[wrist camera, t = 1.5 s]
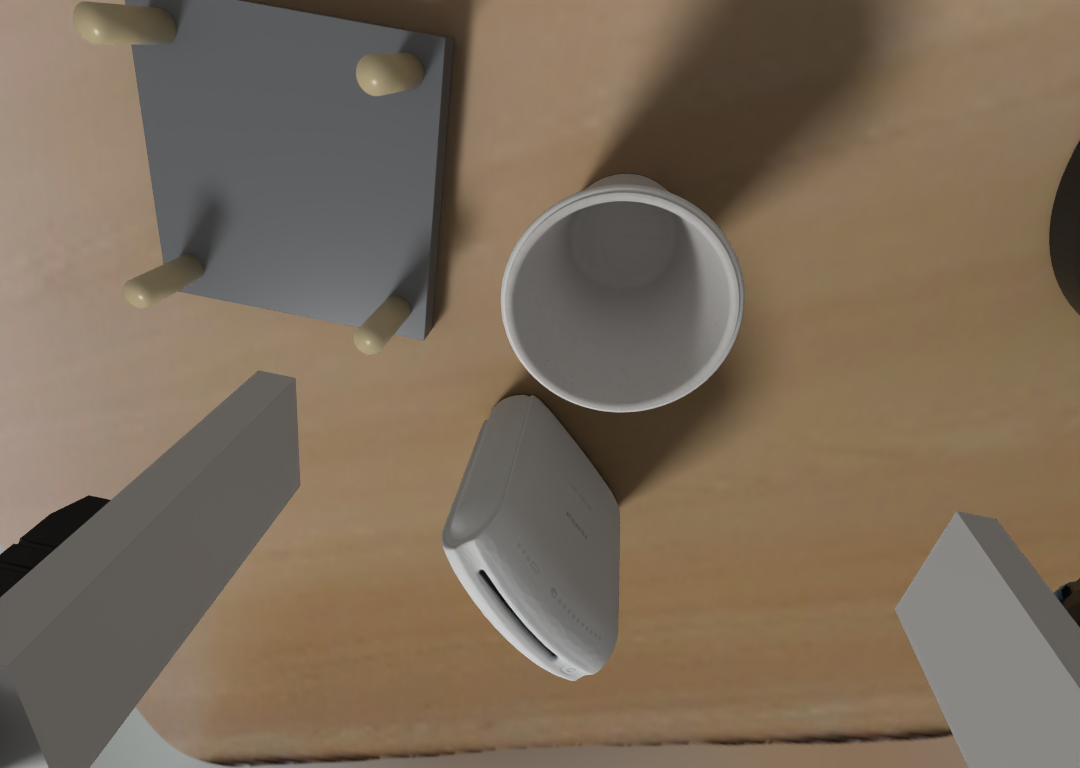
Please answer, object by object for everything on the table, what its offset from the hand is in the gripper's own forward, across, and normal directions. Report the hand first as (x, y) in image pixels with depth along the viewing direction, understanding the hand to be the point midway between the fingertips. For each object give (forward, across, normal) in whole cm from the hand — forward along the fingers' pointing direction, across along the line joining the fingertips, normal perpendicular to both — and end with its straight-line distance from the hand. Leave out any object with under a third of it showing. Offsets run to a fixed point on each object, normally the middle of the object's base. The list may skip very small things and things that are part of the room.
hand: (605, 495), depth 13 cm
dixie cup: (+20, 0, 0) cm, 20 cm away
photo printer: (+20, +1, +14) cm, 25 cm away
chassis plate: (+20, +16, 0) cm, 26 cm away
